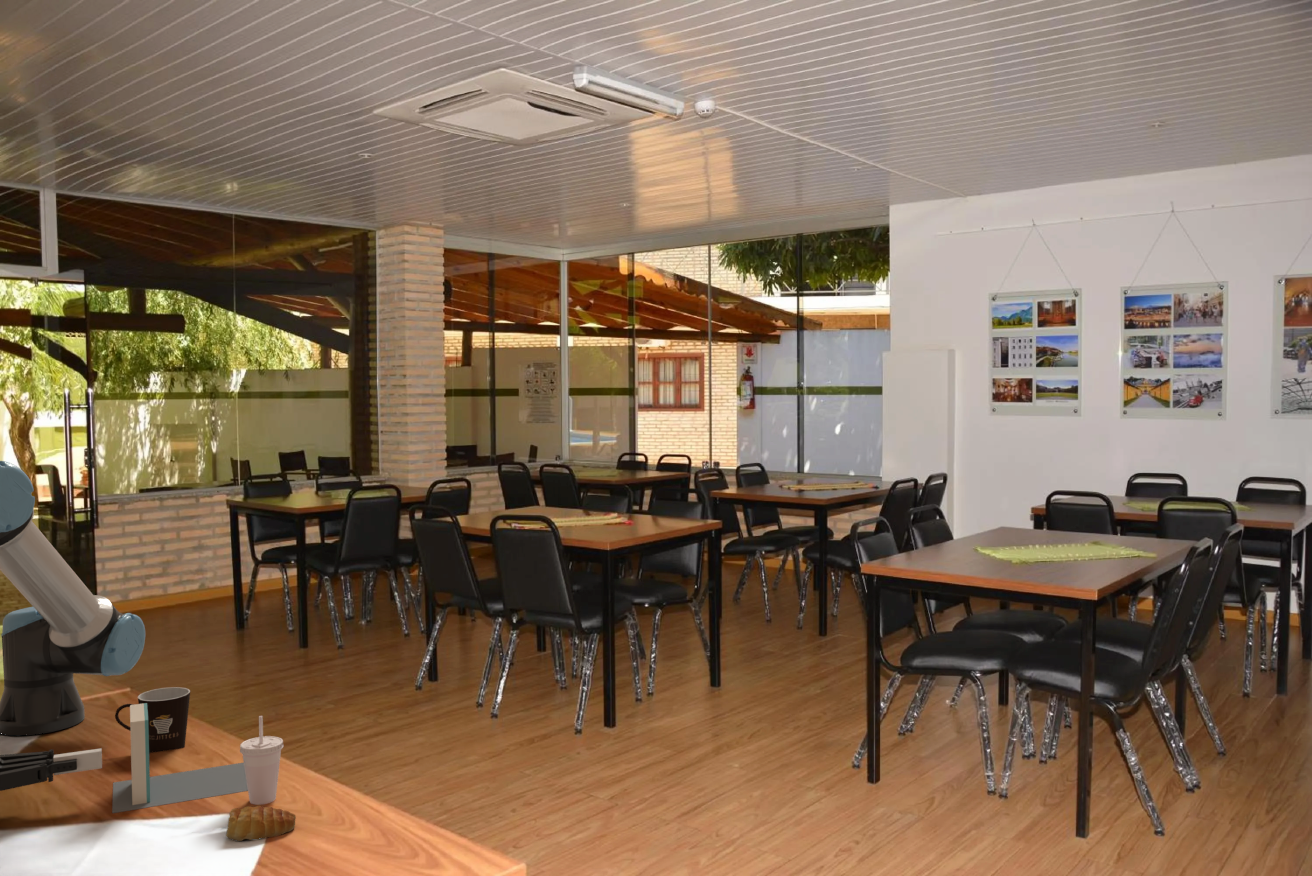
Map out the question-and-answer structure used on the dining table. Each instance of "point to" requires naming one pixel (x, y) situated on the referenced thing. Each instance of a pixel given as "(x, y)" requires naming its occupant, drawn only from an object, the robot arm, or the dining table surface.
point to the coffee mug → (164, 717)
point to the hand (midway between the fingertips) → (101, 758)
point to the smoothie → (262, 766)
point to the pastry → (259, 822)
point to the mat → (183, 787)
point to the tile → (140, 754)
